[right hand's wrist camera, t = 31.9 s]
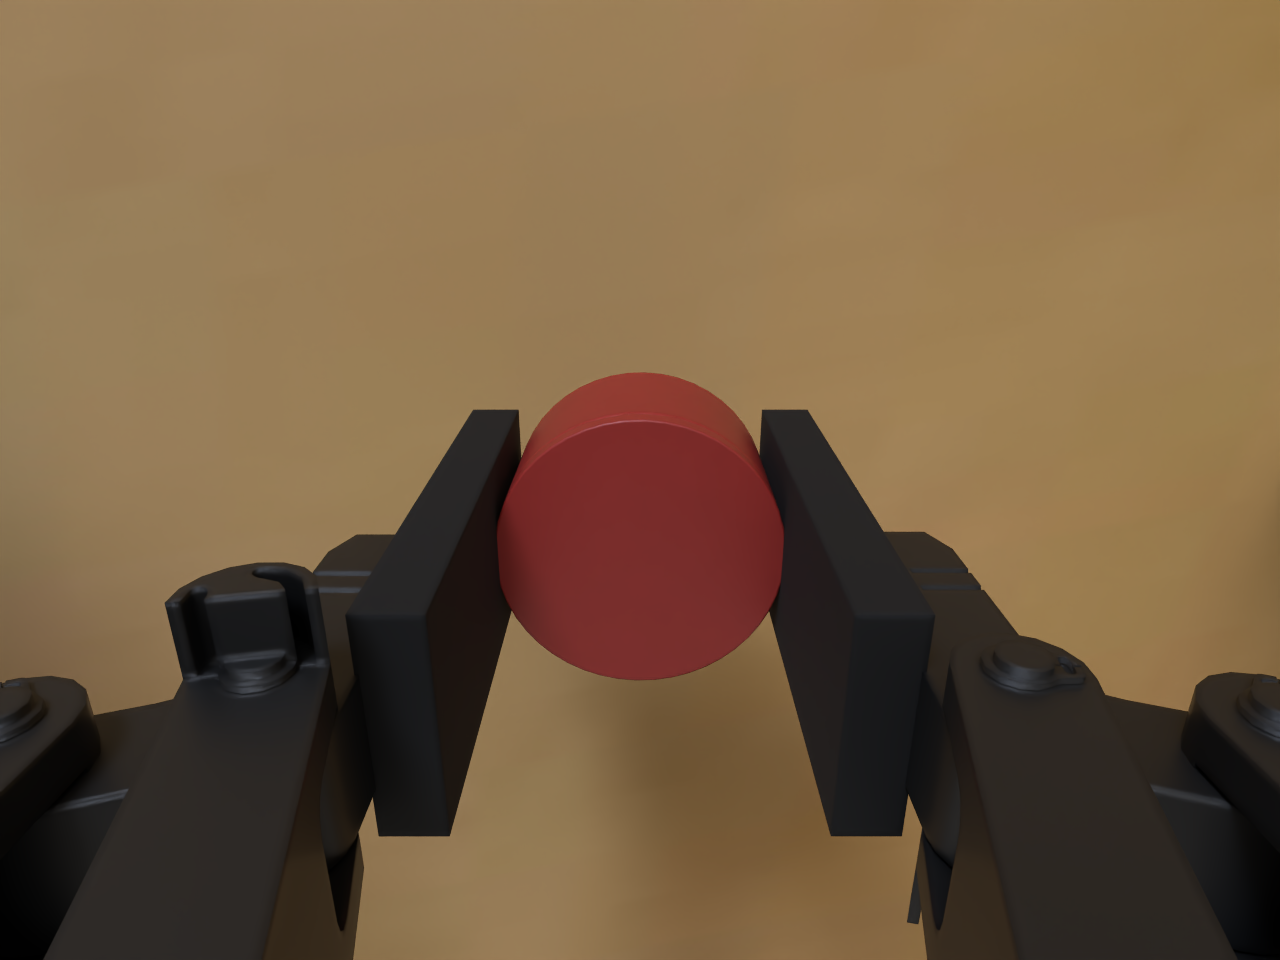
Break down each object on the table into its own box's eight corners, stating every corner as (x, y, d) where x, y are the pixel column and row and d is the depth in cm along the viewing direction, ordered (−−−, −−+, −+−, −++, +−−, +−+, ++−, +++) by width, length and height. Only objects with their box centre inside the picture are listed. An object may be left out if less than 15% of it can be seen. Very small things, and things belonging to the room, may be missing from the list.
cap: (737, 345, 13) (758, 389, 11) (782, 570, 15) (807, 652, 12) (488, 402, 14) (455, 457, 11) (556, 616, 15) (539, 704, 13)
